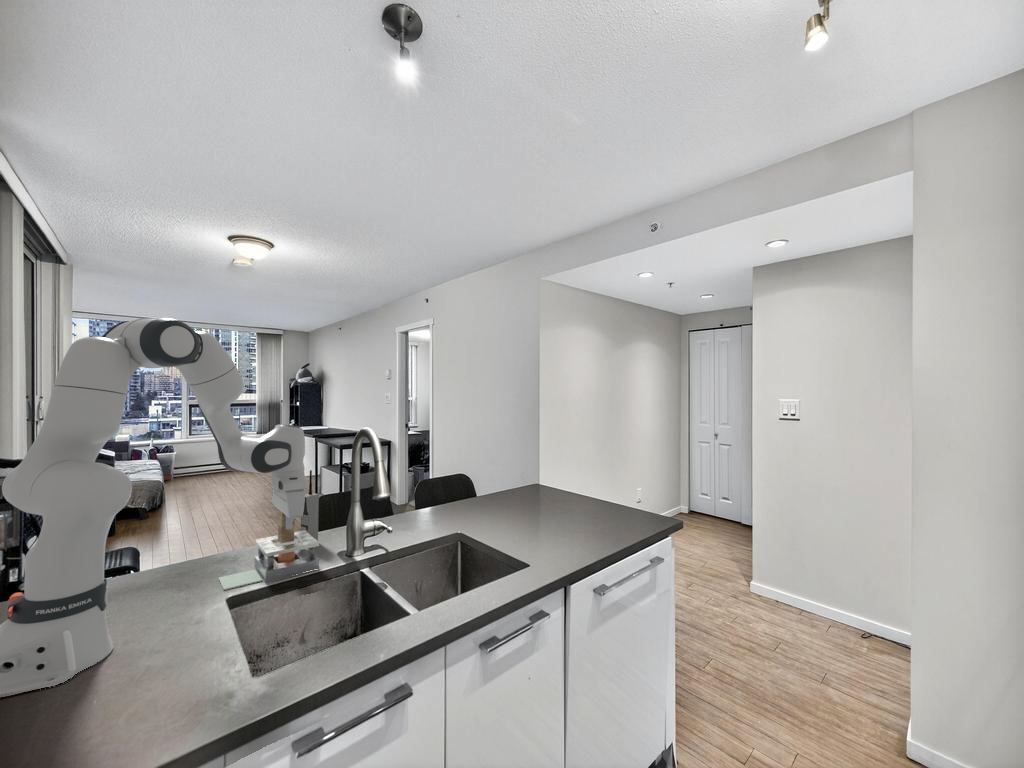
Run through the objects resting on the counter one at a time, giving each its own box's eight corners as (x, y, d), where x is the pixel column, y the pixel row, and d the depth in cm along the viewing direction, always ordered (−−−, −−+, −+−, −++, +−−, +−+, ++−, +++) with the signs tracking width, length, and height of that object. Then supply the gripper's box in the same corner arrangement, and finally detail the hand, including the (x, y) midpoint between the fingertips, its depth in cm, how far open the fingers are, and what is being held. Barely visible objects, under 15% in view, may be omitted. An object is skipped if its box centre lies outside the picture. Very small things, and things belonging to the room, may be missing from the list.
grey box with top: (265, 582, 123) (266, 553, 123) (254, 566, 134) (254, 539, 134) (318, 569, 132) (319, 542, 132) (304, 555, 143) (304, 530, 143)
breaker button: (280, 569, 130) (280, 555, 130) (276, 564, 133) (276, 550, 133) (296, 565, 133) (296, 551, 133) (292, 560, 136) (292, 547, 136)
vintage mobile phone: (297, 545, 152) (299, 470, 152) (310, 540, 156) (311, 468, 156) (305, 547, 150) (306, 472, 150) (318, 542, 154) (319, 469, 154)
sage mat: (223, 590, 118) (223, 589, 118) (218, 579, 125) (218, 577, 125) (262, 581, 124) (262, 579, 124) (255, 570, 131) (255, 569, 131)
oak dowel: (281, 543, 130) (282, 512, 130) (277, 540, 133) (278, 509, 133) (294, 541, 132) (295, 510, 132) (290, 537, 135) (291, 507, 135)
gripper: (267, 474, 139) (266, 520, 138) (285, 486, 123) (283, 537, 123) (289, 472, 143) (288, 516, 143) (309, 483, 127) (307, 533, 127)
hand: (286, 526), depth 133 cm, fingers closed on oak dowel, 3 cm apart
